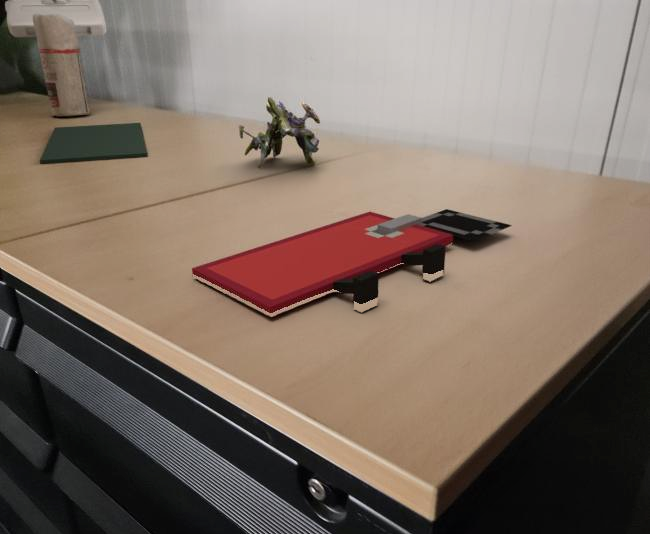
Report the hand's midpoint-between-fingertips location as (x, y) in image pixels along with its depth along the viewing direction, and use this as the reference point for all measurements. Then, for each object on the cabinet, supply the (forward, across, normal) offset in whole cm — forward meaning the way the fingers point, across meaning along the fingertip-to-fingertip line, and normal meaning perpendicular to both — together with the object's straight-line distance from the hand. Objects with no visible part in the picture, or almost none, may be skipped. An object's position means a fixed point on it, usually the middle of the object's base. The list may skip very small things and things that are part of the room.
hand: (60, 48), depth 135 cm
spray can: (+14, 0, +4) cm, 15 cm away
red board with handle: (+85, +32, -66) cm, 112 cm away
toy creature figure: (+57, +33, -38) cm, 76 cm away
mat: (+37, +6, -19) cm, 42 cm away
